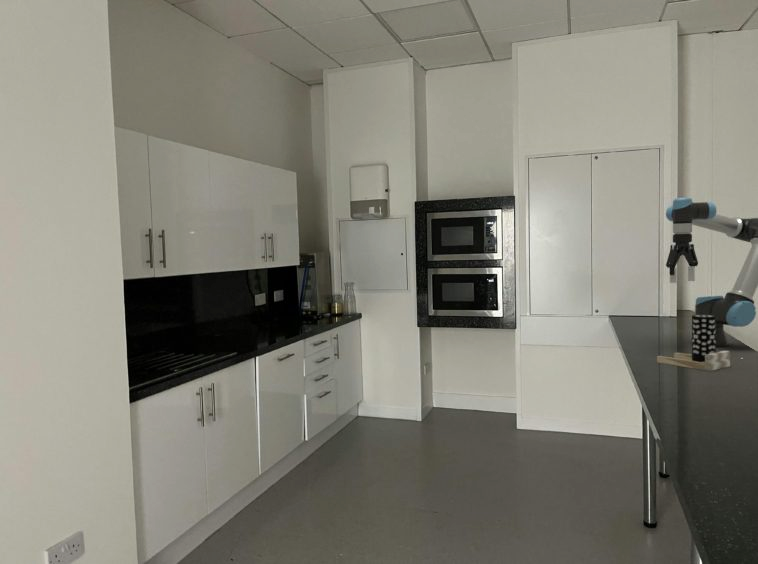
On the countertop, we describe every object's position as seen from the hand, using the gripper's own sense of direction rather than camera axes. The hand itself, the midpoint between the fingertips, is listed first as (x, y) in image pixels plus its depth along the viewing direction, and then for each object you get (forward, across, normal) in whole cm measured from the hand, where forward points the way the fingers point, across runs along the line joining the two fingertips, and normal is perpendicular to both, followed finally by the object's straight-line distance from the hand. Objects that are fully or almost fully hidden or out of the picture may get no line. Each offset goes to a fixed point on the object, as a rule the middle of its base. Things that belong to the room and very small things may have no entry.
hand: (682, 281), depth 261 cm
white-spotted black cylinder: (+32, +19, +20) cm, 42 cm away
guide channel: (+32, +19, +15) cm, 40 cm away
